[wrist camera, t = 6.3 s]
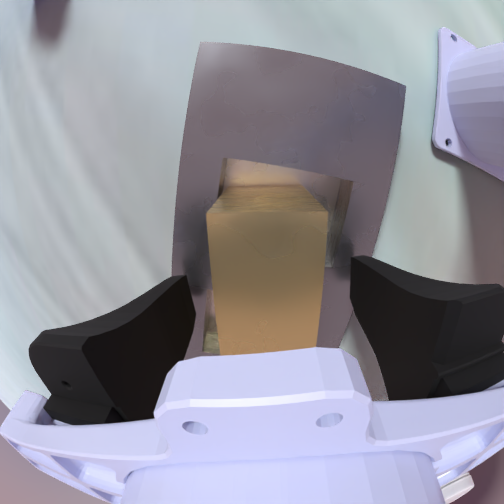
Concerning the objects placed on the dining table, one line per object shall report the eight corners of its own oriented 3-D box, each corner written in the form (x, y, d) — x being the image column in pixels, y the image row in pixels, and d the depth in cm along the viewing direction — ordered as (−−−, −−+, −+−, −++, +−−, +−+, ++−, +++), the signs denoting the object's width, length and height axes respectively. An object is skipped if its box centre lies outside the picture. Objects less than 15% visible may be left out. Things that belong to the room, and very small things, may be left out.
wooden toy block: (302, 185, 13) (327, 211, 8) (296, 325, 16) (307, 398, 11) (228, 186, 13) (205, 213, 8) (236, 326, 16) (226, 399, 11)
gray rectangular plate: (387, 92, 11) (406, 86, 9) (303, 393, 18) (306, 415, 16) (208, 56, 11) (200, 41, 9) (179, 377, 18) (173, 399, 16)
